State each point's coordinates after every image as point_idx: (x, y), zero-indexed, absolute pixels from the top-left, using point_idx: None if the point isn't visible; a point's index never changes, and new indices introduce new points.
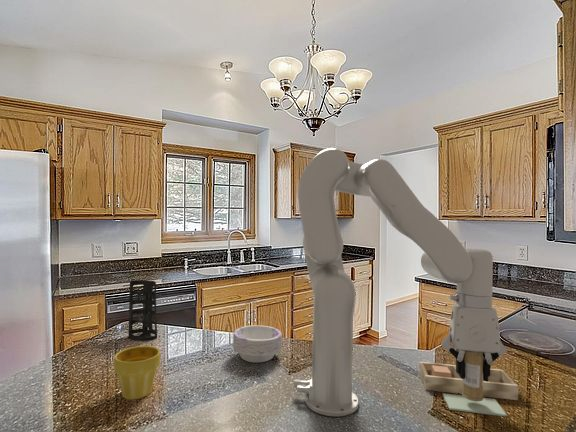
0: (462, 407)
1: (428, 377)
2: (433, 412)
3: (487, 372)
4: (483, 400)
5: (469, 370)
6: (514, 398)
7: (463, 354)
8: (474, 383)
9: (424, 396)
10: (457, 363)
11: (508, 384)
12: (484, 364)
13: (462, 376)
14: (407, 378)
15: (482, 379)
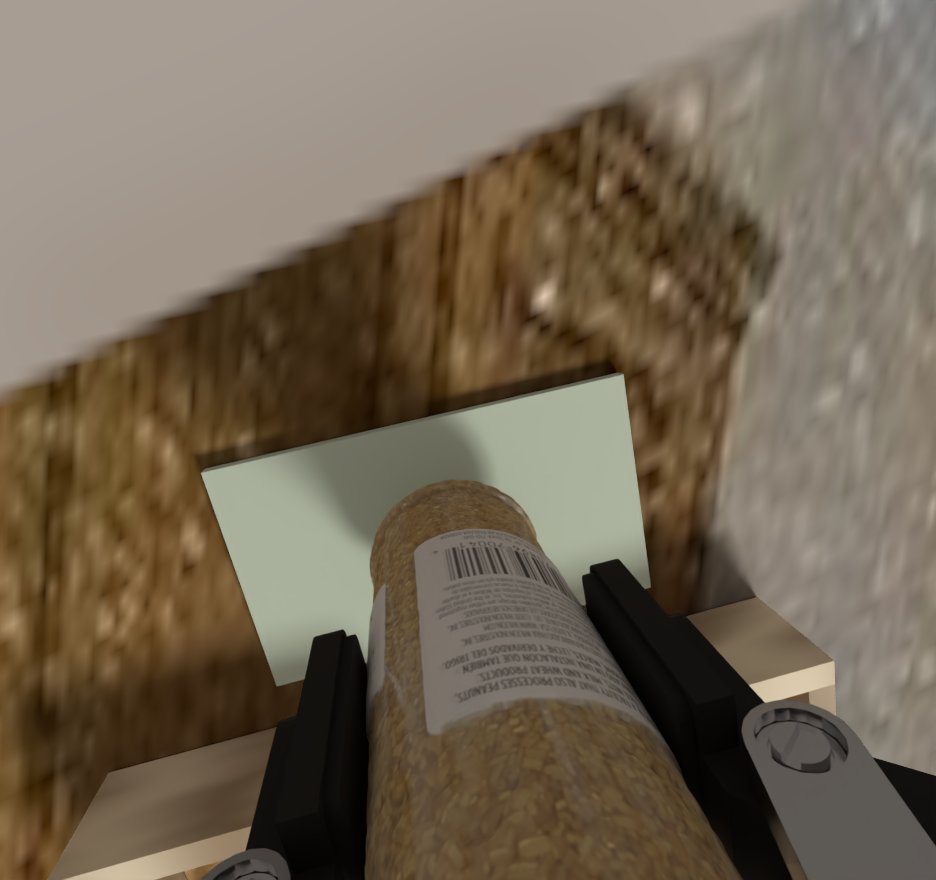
0: (527, 429)
1: (803, 663)
2: (736, 271)
3: (308, 711)
4: (363, 622)
5: (567, 635)
6: (131, 774)
7: (813, 852)
8: (470, 548)
9: (772, 494)
10: (755, 704)
11: (132, 867)
12: (344, 821)
13: (618, 572)
14: (856, 706)
15: (379, 630)
